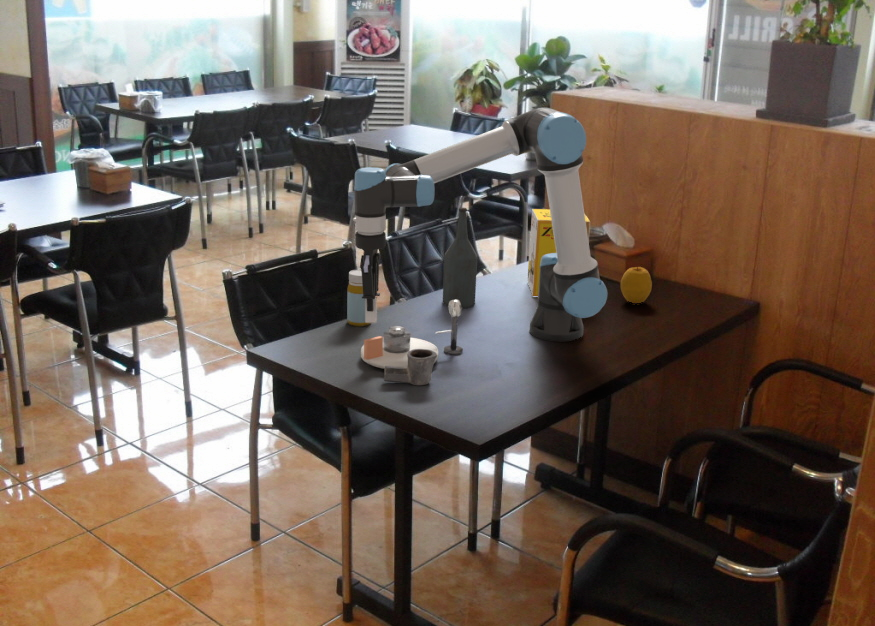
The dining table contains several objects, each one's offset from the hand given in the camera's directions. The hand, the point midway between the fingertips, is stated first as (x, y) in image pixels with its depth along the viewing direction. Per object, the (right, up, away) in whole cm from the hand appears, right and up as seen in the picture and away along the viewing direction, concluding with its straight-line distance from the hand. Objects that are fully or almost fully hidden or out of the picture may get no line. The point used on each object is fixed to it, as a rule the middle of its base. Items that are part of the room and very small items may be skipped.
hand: (371, 321), depth 246 cm
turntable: (+7, -9, +5) cm, 12 cm away
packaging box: (+55, +9, +68) cm, 88 cm away
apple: (+79, +5, +58) cm, 98 cm away
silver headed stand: (+20, -8, +12) cm, 24 cm away
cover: (+6, -7, +5) cm, 11 cm away
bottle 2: (+23, +5, +51) cm, 57 cm away
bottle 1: (-6, -1, +32) cm, 32 cm away
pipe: (+10, -15, -9) cm, 20 cm away
